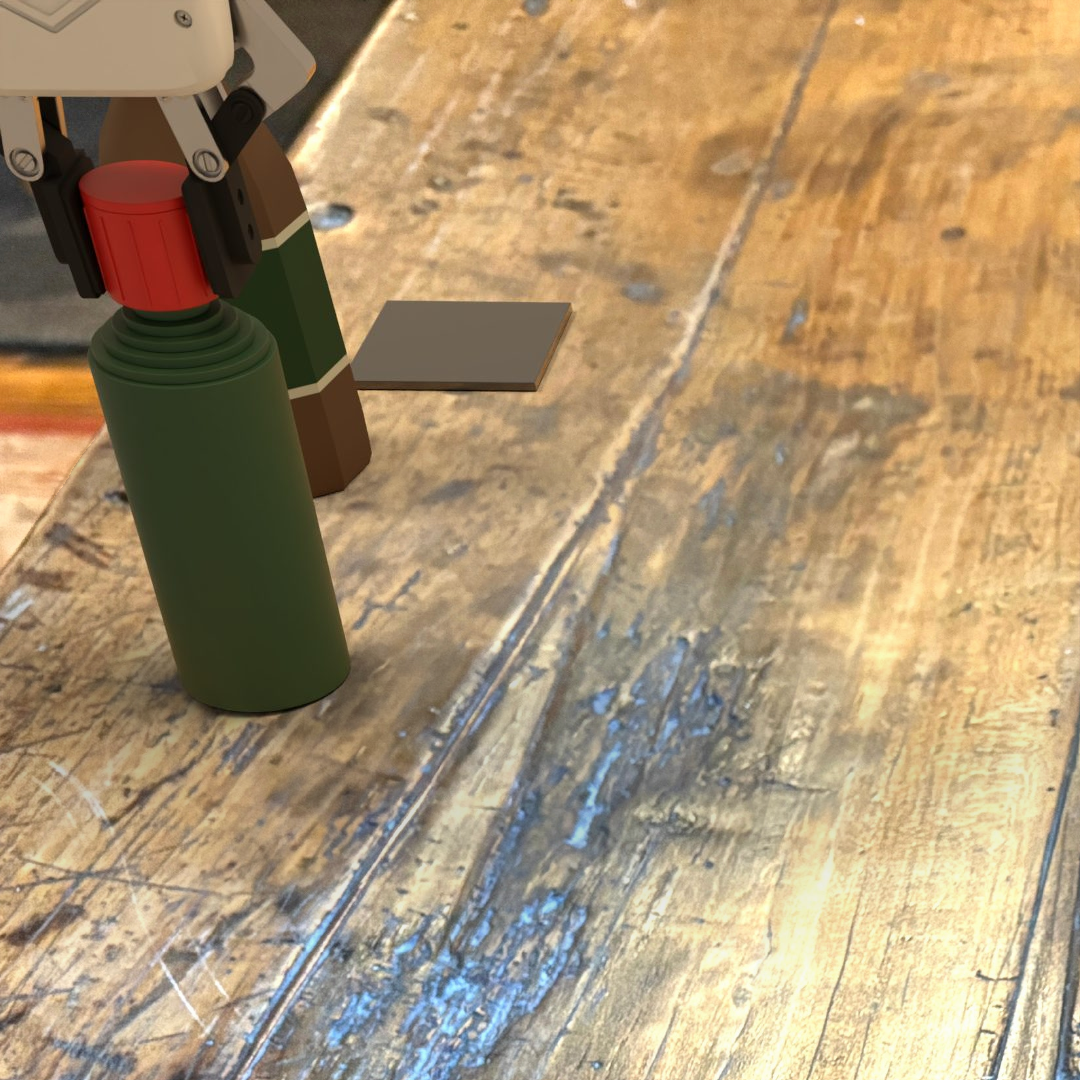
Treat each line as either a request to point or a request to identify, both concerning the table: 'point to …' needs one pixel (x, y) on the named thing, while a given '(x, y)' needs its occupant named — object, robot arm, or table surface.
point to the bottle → (221, 504)
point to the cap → (144, 236)
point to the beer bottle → (274, 289)
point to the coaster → (460, 345)
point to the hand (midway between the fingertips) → (168, 277)
